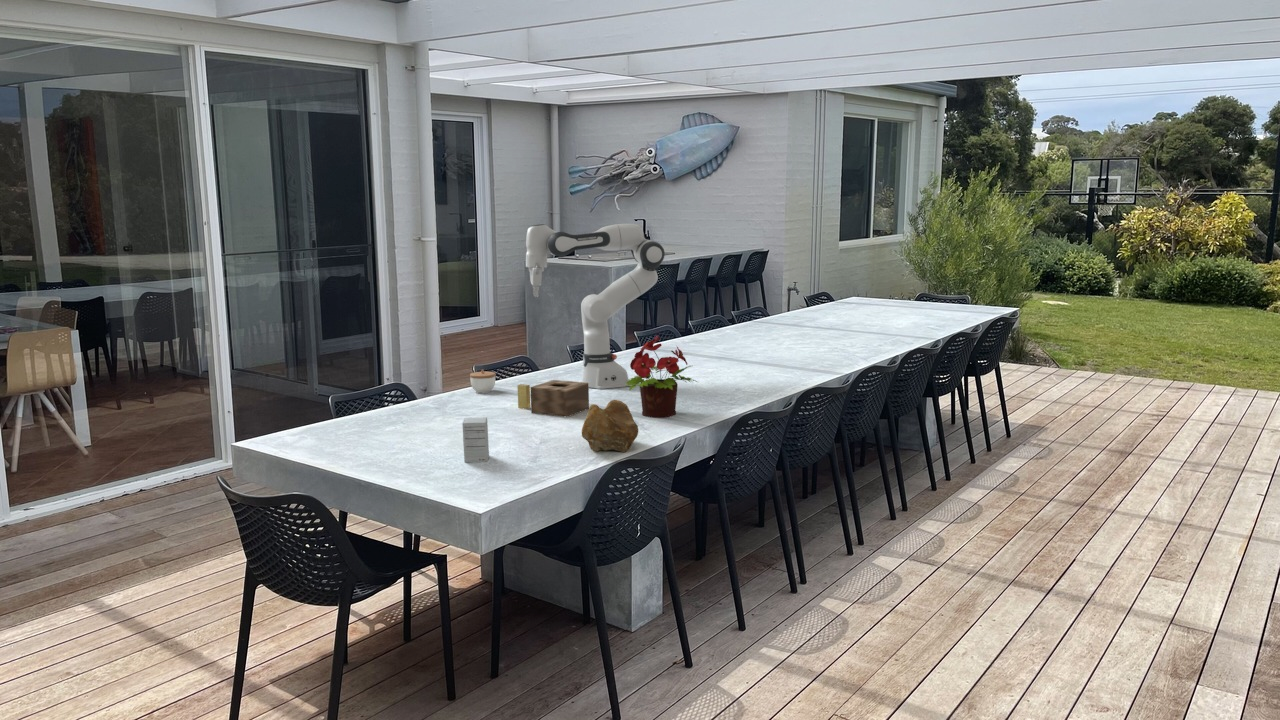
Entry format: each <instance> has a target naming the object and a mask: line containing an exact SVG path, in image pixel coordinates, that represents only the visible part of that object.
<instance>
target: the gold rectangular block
mask: <svg viewBox="0 0 1280 720" xmlns="http://www.w3.org/2000/svg"><path fill="white" fill-rule="evenodd" d="M516 387H517V407H518V409H523V408H524V409H525V410H526V409H527V410H528V409H531V389H530V387H531V386H530V384H522V383H520V384H518V385H517V386H516Z"/></svg>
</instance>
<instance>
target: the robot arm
mask: <svg viewBox="0 0 1280 720" xmlns="http://www.w3.org/2000/svg"><path fill="white" fill-rule="evenodd" d="M525 237H526V238H525V246H526V253H525V268H528V272H529V278H530V279H529V280H530V284H531V285H532V295H533V297H534V298H538V297H539V296H540V295H539V292H540V287H541V286H542V279H543V278H542V277H543V276H542V275H543V274H542V272H544V271H545V268H548V254H549V255H552V256H556V257H566V256H567V255H570V254H571V253H573V252H575V251H580V250H589V249H599V250H601V251H609V252H610V251H613V252H614V251H615V252H616V251H623V250H630V252H631V254H632V257H633V259H634V260H635V262H637V265H636V266H635V267H634V269H633V270H631V271H629V272H627V273H625V274H624V275H623V276H621V277H620V278H618V279H616V280H615V281H613V282H612V283H610V284H609V285H608V286H607V287H606V288H605V289H604V290H602V291H601V292H600V293H598V294H594V293H592V294H588V295H586V296H585V297H584V298H583V299H582V301H581V304H580V310H581V312H580V313H581V314H580V315H581V322H582V324H581V325H582V331H583V332H582V333H583V350H584V352H583V355H582V361H583V362H582V363H583V375H582V381H581V382H584V383H588V386H589V389H590V388H592V389H598V390H605V389H606V390H607V389H615V388H623V387H631V386H632V385H628V386H626V385H627V384H626V382H627V381H629V379H630V378H629V374H628V371H627V370H626V369H625V368H624V367H623V366H622V365H621V364H619V363H618V362H617V361H615V360H616V359H617V358H618V355H616V354H615V353H613V352H611V351H610V350H611V347H610V343H611V342H610V340H611V339H610V330H609V325H608V320H609V319H610V318H611V317H613V316H614V315H616V314H617V313H618V312H619V311H620V310H621V309H623V308H624V307H625V306H626V305H628V304H630V303H631V302H633V301H634V300H636V299H637V298H639V297H640V296H642V295H644V294H645V293H646V292H648V291H649V290H650V289H651V288H653V286H655V285H656V284H657V282H658V279H659V277H658V273H657V271H658V270H659V267H660V266H661V264H662V262H663V261H664V259H665V255H666V254H665V250H664V247H663V246H662V245H661V243H659V242H657V241H655V240H651V239H647V238H646V237H645V233H644V229H642V227H641V226H640V225H639V224H636V223H619V224H618V223H617V224H611V225H610V224H609V225H607V226H603V227H601V228H599V229H598V230H596V231H593V232H587V233H579V234H571V233H567V232H564V231H556V230H554V229H552V228H550V227H549V226H547V224H546V223H545V224H544V223H541V224H540V223H539V224H533V225H530V226H529V227H528V228H527V231H526V236H525Z"/></svg>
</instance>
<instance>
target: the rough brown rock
mask: <svg viewBox="0 0 1280 720" xmlns="http://www.w3.org/2000/svg"><path fill="white" fill-rule="evenodd" d="M638 435H639V427H638V425H637V423H636V422H635V420H634V417H633V414H632V413H631V411H630V409H629V406H628V405H627V404H626V403H625V402H623V401H622V400H618V399H612V400H610V401H609V402H608V403H607V405H606V406H605V408H602V407H599V406H598V404H596V403H594V404H590V405H589V408H588V410H587V414H586V417H585V420H584V422H583V425H582V428H581V437H582V438H583V439H584V440H585V441H586V442H588V445H589V448H590V450H591V451H592V452H595V453H596V452H600V451H601V450H603V451H606V452H607V451H612V450H614V451H618V452H621V453H626V452H627V451H629V450H630V448H631V447H632V445H633V443H634V442H635V441H636V439H637V437H638Z"/></svg>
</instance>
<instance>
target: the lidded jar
mask: <svg viewBox="0 0 1280 720" xmlns="http://www.w3.org/2000/svg"><path fill="white" fill-rule="evenodd" d="M484 370H485V369H481V371H476V372H475V371H474V372H471V373H470V374H469V378H470V385H471V387H472V389H473V390H474V391H475V392H476V393H477V392H478V394H484V393H485V394H486V393H490V392H491V391H492V390H493V389H494V387H495V385H496V375H497V374H496V372H494V371H484Z"/></svg>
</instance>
